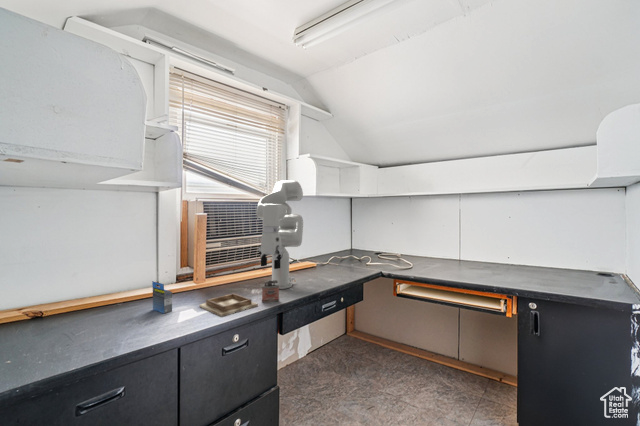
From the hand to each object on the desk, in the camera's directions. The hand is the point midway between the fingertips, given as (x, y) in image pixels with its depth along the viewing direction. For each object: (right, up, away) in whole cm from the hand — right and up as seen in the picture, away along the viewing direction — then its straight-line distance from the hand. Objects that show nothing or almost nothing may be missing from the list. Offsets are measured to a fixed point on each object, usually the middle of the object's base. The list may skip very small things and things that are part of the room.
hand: (270, 267), depth 142 cm
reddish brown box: (0, -17, +1) cm, 17 cm away
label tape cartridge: (-44, -16, -13) cm, 48 cm away
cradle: (-17, -16, -7) cm, 25 cm away
